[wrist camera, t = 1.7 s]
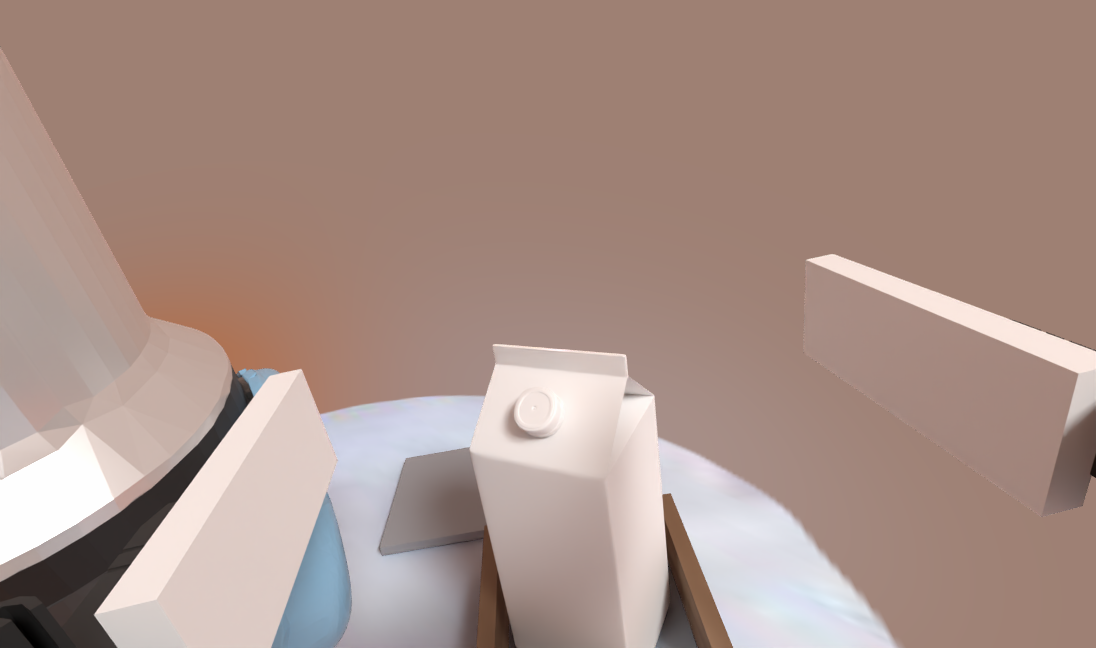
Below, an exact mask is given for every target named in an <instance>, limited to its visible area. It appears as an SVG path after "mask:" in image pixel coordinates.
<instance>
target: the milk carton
mask: <svg viewBox="0 0 1096 648" xmlns="http://www.w3.org/2000/svg"><path fill="white" fill-rule="evenodd" d="M492 348H493V353H494V358H495V363H496V364H495V368H494V371H493V374H492V377H491V381H490V384H489V387H488V390H487V393H486V397H485V400H484V403H483V406H482V409H481V413H480V416H479V419H478V422H477V425H476V429H475V432H474V435H473V438H472V441H471V445H470V449H469V450H470V454H471V459H472V464H473V468H474V472H475V477H476V481H477V485H478V489H479V493H480V498H481V502H482V506H483V510H484V515H485V519H486V523H487V527H488V532H489V536H490V540H491V544H492V548H493V553H494V557H495V561H496V565H497V570H498V574H499V578H500V582H501V587H502V591H503V595H504V599H505V603H506V608H507V612H508V616H509V620H510V625H511V629H512V633H513V637H514V642H515V646H516V648H655V647H656V644H657V641H658V638H659V635H660V632H661V629H662V625H663V622H664V619H665V616H666V613H667V610H668V607H669V604H670V586H669V574H668V561H667V549H666V536H665V524H664V511H663V499H662V486H661V474H660V461H659V449H658V436H657V424H656V413H655V399H654V395H653V394H652V393H651V392H649V391H648V390H646V389H645V388H644V387H642V386H641V385H640V384H638V383H637V382H635V381H634V380H633V379H631V378H630V377H629V376H628V369H627V359H626V356H625V354H613V353H600V352H586V351H575V350H563V349H551V348H538V347H526V346H513V345H501V344H494V345H493V346H492Z"/></svg>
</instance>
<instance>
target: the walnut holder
mask: <svg viewBox="0 0 1096 648" xmlns="http://www.w3.org/2000/svg"><path fill="white" fill-rule="evenodd" d="M662 499H663V511H664V524H665V536H666V549H667V559H668V562H669V565H670V568H671V571H672V574H673V577H674V580H675V583H676V586H677V589H678V592H679V595H680V598H681V601H682V603H683V606H684V609H685V612H686V615H687V618H688V621H689V624H690V627H691V630H692V633H693V636H694V639H695V642H696V645H697V648H733V646H732V644H731V641H730V639H729V637H728V634H727V632H726V629H725V627H724V624H723V622H722V619H721V617H720V614H719V612H718V609H717V607H716V604H715V602H714V599H713V597H712V595H711V592H710V590H709V587H708V585H707V582H706V580H705V577H704V575H703V572H702V570H701V567H700V565H699V562H698V560H697V557H696V555H695V553H694V550H693V548H692V545H691V543H690V540H689V538H688V535H687V533H686V530H685V528H684V525H683V523H682V520H681V518H680V515H679V513H678V511H677V508H676V506H675V503H674V501H673V498H672V496H671V493H670V494H664V495H662ZM476 648H509V616H508V612H507V608H506V603H505V599H504V595H503V591H502V587H501V582H500V578H499V574H498V570H497V565H496V561H495V557H494V553H493V548H492V544H491V540H490V536H489V532H488V527H487V525H485V526H484V539H483V554H482V569H481V585H480V600H479V616H478V631H477V646H476Z"/></svg>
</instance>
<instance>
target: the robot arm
mask: <svg viewBox="0 0 1096 648" xmlns="http://www.w3.org/2000/svg"><path fill="white" fill-rule="evenodd" d="M804 353H805V354H806V355H808V356H809V357H810V358H812V359H813V360H815V361H816V362H818V363H819V364H821V365H822V366H823V367H825V368H826V369H828V370H829V371H831V372H832V373H834V374H835V375H837V376H838V377H839V378H841V379H842V380H844V381H845V382H847V383H848V384H850V385H851V386H852V387H854V388H855V389H857V390H858V391H860V392H861V393H863V394H864V395H866V396H867V397H868V398H870V399H871V400H873V401H874V402H876V403H877V404H879V405H880V406H882V407H883V408H884V409H886V410H888V411H889V412H890V413H892V414H893V415H895V416H896V417H897V418H899V419H901V420H902V421H903V422H905V423H906V424H908V425H909V426H911V427H912V428H914V429H915V430H916V431H918V432H919V433H921V434H922V435H924V436H925V437H927V438H928V439H929V440H931V441H932V442H934V443H935V444H937V445H938V446H940V447H941V448H942V449H944V450H945V451H947V452H948V453H950V454H951V455H953V456H954V457H955V458H957V459H958V460H960V461H961V462H963V463H964V464H966V465H967V466H969V467H970V468H972V469H973V470H974V471H976V472H977V473H979V474H980V475H982V476H983V477H984V478H986V479H987V480H989V481H990V482H992V483H993V484H995V485H996V486H997V487H999V488H1000V489H1002V490H1003V491H1005V492H1006V493H1008V494H1009V495H1011V496H1012V497H1014V498H1015V499H1016V500H1018V501H1019V502H1021V503H1022V504H1024V505H1025V506H1026V507H1028V508H1029V509H1031V510H1033V511H1034V512H1035V513H1037V514H1038V515H1040V516H1041V517H1043V516H1047V515H1050V514H1055V513H1058V512H1062V511H1066V510H1070V509H1073V508H1077V507H1081V506H1083V503H1084V499H1085V496H1086V493H1087V489H1088V486H1089V482H1090V479H1091V476H1094V477H1095V478H1096V350H1094V349H1091V348H1088V347H1085V346H1082V345H1080V344H1077V343H1074V342H1072V341H1066V340H1064V338H1061V337H1058V336H1055V335H1053V334H1050V333H1047V332H1046V333H1045V332H1042V331H1041V330H1039V329H1036V328H1034V327H1031V326H1028V325H1026V324H1023V323H1020V322H1017V321H1015V320H1011V319H1007V318H1004V317H1002V316H999V315H996V314H994V313H991V312H988V311H985V310H983V309H980V308H977V307H975V306H972V305H969V304H967V303H964V302H961V301H958V300H955V299H953V298H950V297H948V296H945V295H942V294H940V293H937V292H934V291H931V290H928V289H926V288H923V287H921V286H918V285H915V284H913V283H910V282H907V281H904V280H902V279H899V278H896V277H894V276H891V275H888V274H886V273H883V272H880V271H877V270H875V269H872V268H869V267H867V266H864V265H861V264H858V263H856V262H853V261H850V260H848V259H845V258H842V257H840V256H837V255H834V254H831V255H826V256H821V257H817V258H812V259H808V260H806V272H805V314H804ZM337 461H338V460H337V457H336V455H335V452H334V450H333V447H332V445H331V442H330V440H329V437H328V434H327V432H326V429H325V427H324V424H323V422H322V419H321V417H320V414H319V412H318V409H317V407H316V405H315V402H314V399H313V397H312V395H311V392H310V389H309V387H308V384H307V382H306V379H305V377H304V374H303V372H302V369H299V370H294V371H290V372H285V373H279V372H278V371H276V370H273V369H267V368H266V369H259V370H253V369H250V370H247V371H246V369H243V370H241V371H239V372H238V373H237V374H235V372H234V370H233V368H232V365H231V363H230V360H229V358H228V356H227V355H226V353H225V351H224V349H223V348H222V346H220V345H219V344H218V343H217V342H216V341H215V340H214V339H213V338H212V337H210V336H209V335H208V334H206V333H203V332H201V331H198V330H196V329H193V328H190V327H186V326H182V325H178V324H174V323H170V322H167V321H163V320H159V319H155V318H151V317H149V316H147V315H146V314H145V313H144V311H143V309H142V307H141V305H140V303H139V302H138V300H137V298H136V296H135V294H134V292H133V291H132V289H131V287H130V285H129V283H128V281H127V280H126V278H125V276H124V274H123V272H122V270H121V268H120V267H119V265H118V263H117V261H116V259H115V258H114V256H113V254H112V252H111V250H110V248H109V246H108V245H107V243H106V241H105V239H104V237H103V235H102V233H101V232H100V230H99V228H98V226H97V224H96V222H95V221H94V219H93V217H92V215H91V213H90V211H89V209H88V208H87V206H86V204H85V202H84V200H83V198H82V197H81V195H80V193H79V191H78V189H77V187H76V186H75V184H74V182H73V180H72V178H71V177H70V174H69V173H68V171H67V169H66V167H65V165H64V163H63V162H62V160H61V158H60V156H59V154H58V152H57V151H56V149H55V147H54V145H53V143H52V141H51V139H50V138H49V136H48V134H47V132H46V130H45V128H44V126H43V125H42V123H41V121H40V119H39V117H38V115H37V114H36V112H35V110H34V109H33V106H32V104H31V103H30V101H29V99H28V97H27V95H26V93H25V91H24V90H23V88H22V87H21V84H20V82H19V81H18V79H17V77H16V75H15V73H14V71H13V70H12V68H11V66H10V64H9V62H8V60H7V58H6V56H5V55H4V53H3V51H2V49H1V47H0V648H334V647H335V646H336V645H337V643H338V642H339V641H340V639H341V638H342V636H343V634H344V632H345V630H346V628H347V625H348V622H349V619H350V614H351V606H352V596H351V584H350V577H349V571H348V566H347V561H346V556H345V552H344V548H343V543H342V539H341V535H340V531H339V527H338V523H337V520H336V517H335V513H334V510H333V506H332V503H331V500H330V498H329V496H328V494H327V489H328V486H329V484H330V481H331V478H332V475H333V472H334V469H335V467H336V464H337Z"/></svg>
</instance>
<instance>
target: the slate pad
mask: <svg viewBox="0 0 1096 648" xmlns="http://www.w3.org/2000/svg"><path fill="white" fill-rule="evenodd" d="M469 449H470V447H469V448H463V449H457V450H451V451H446V452H440V453H434V454H428V455H423V456H417V457H411V458H406V460H405V463H404V467H403V470H402V473H401V477H400V480H399V483H398V487H397V490H396V494H395V497H394V500H393V504H392V507H391V510H390V514H389V517H388V521H387V524H386V527H385V531H384V534H383V537H382V541H381V544H380V547H379V548H380V551H381V554H382V556H383V555H389V554H395V553H401V552H406V551H412V550H418V549H424V548H430V547H435V546H441V545H447V544H453V543H458V542H464V541H470V540H476V539H482V538H484V526H485V525H487V523H486V519H485V515H484V510H483V506H482V502H481V498H480V493H479V489H478V485H477V481H476V477H475V472H474V468H473V464H472V459H471V454H470V450H469Z"/></svg>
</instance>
